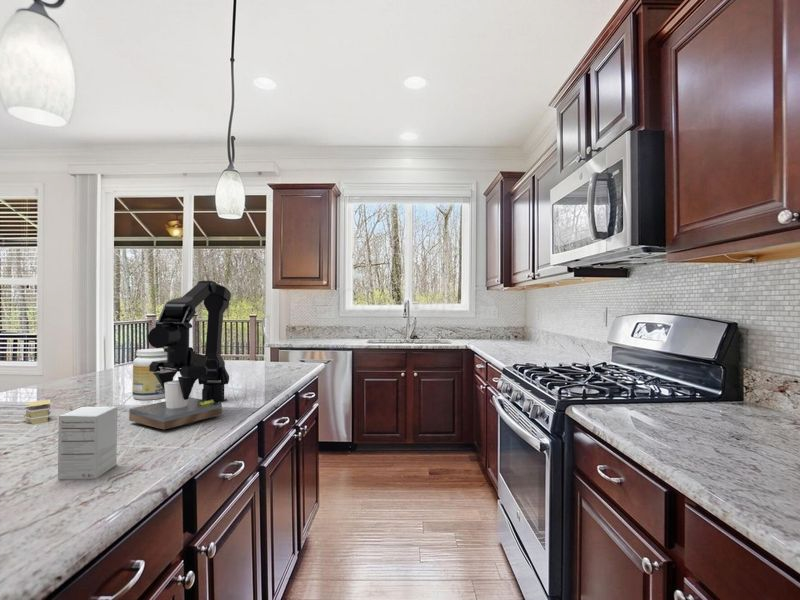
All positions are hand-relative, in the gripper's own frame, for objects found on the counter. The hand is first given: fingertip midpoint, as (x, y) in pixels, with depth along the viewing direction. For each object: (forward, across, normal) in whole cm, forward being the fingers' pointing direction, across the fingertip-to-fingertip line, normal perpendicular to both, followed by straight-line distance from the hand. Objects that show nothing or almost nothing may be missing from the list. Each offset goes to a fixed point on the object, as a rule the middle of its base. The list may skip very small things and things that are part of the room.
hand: (177, 397), depth 124 cm
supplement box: (+7, -19, +32) cm, 38 cm away
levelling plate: (+4, 0, 0) cm, 4 cm away
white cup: (+3, 0, 0) cm, 3 cm away
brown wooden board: (+7, 0, 0) cm, 7 cm away
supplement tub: (+7, +35, -14) cm, 38 cm away
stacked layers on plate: (+7, +32, +20) cm, 39 cm away
